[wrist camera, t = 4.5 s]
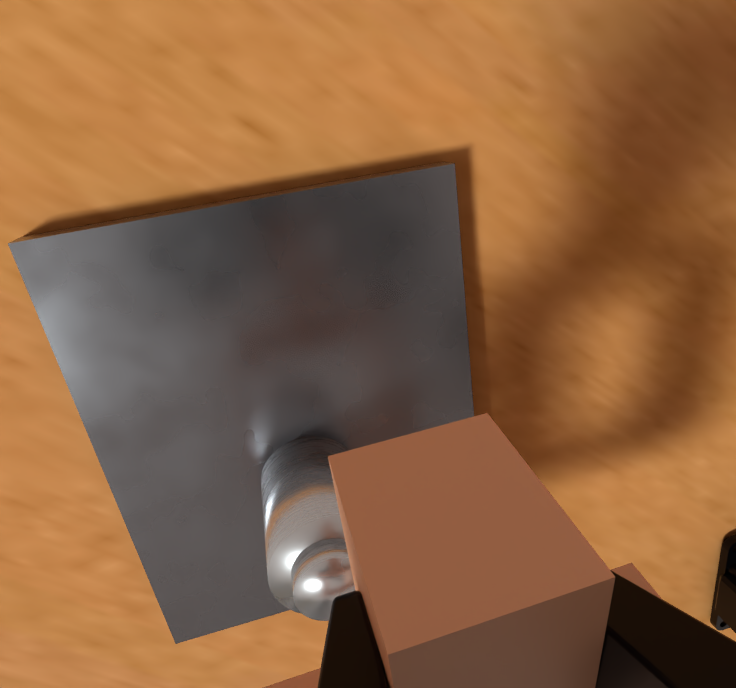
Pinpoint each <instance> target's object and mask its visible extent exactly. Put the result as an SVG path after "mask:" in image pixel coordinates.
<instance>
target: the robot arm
mask: <svg viewBox="0 0 736 688" xmlns="http://www.w3.org/2000/svg"><path fill="white" fill-rule="evenodd" d="M610 571H611V572H612V573H613V575H614V576H615V582H614V587H613V593H612V598H611V604H610V609H609V615H608V620H607V626H606V631H605V637H604V642H603V648H602V653H601V659H600V664H599V670H598V675H597V681H596V686H595V688H736V642H735V641H734V640H732V639H730V638H728V637H727V636H725V635H723V634H721V633H720V632H718V631H716V630H714V629H713V628H711V627H709V626H708V625H706V624H704V623H702V622H701V621H699V620H697V619H695V618H694V617H692V616H690V615H688V614H687V613H685V612H683V611H681V610H680V609H678V608H676V607H674V606H673V605H671V604H669V603H667V602H666V601H664V600H662V599H660V598H659V597H657V596H655V595H653V594H652V593H650V592H648V591H646V590H645V589H643V588H641V587H639V586H638V585H636V584H634V583H633V582H631V581H629V580H627V579H626V578H624V577H622V576H620V575H619V574H617V573H615V572H613V571H612V570H610ZM710 622H711V624H712V625H713V626H714V627H715V628H716V629H717V630H724V629H727V628H731V629H732V630H733V631H734V632H735V633H736V535H733V536H730V537H728V538H727V539H726V540H725V541H724V542H723V544H722V549H721V555H720V562H719V568H718V574H717V581H716V587H715V594H714V600H713V606H712V613H711V619H710ZM317 688H388V683H387V678H386V673H385V669H384V665H383V661H382V658H381V655H380V652H379V648H378V645H377V642H376V639H375V636H374V632H373V629H372V626H371V623H370V620H369V616H368V613H367V610H366V607H365V603H364V600H363V597H362V594H361V592H360V591H352V592H349V593H346V594H343V595H340V596H337V597H335V598H334V600H333V602H332V606H331V612H330V618H329V624H328V629H327V635H326V641H325V646H324V652H323V658H322V664H321V669H320V675H319V681H318V686H317Z"/></svg>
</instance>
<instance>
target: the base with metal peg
mask: <svg viewBox="0 0 736 688" xmlns="http://www.w3.org/2000/svg"><path fill="white" fill-rule="evenodd" d="M8 245H9V247H10V250H11V252H12V254H13V257H14V259H15V262H16V264H17V266H18V269H19V271H20V274H21V276H22V278H23V281H24V283H25V285H26V288H27V290H28V293H29V295H30V297H31V300H32V302H33V305H34V307H35V309H36V312H37V314H38V316H39V319H40V321H41V324H42V326H43V328H44V331H45V333H46V336H47V338H48V340H49V343H50V345H51V347H52V350H53V352H54V355H55V357H56V359H57V362H58V364H59V367H60V369H61V371H62V374H63V376H64V378H65V381H66V383H67V386H68V388H69V390H70V393H71V395H72V398H73V400H74V402H75V405H76V407H77V409H78V412H79V414H80V417H81V419H82V421H83V424H84V426H85V429H86V431H87V433H88V436H89V438H90V440H91V443H92V445H93V448H94V450H95V452H96V455H97V457H98V460H99V462H100V464H101V467H102V469H103V471H104V474H105V476H106V479H107V481H108V483H109V486H110V488H111V491H112V493H113V495H114V498H115V500H116V502H117V505H118V507H119V510H120V512H121V514H122V517H123V519H124V522H125V524H126V526H127V529H128V531H129V533H130V536H131V538H132V541H133V543H134V545H135V548H136V550H137V553H138V555H139V557H140V560H141V562H142V564H143V567H144V569H145V572H146V574H147V576H148V579H149V581H150V584H151V586H152V588H153V591H154V593H155V595H156V598H157V600H158V603H159V605H160V607H161V610H162V612H163V615H164V617H165V619H166V622H167V624H168V626H169V629H170V631H171V634H172V636H173V638H174V641H175V643H176V644H177V643H180V642H183V641H187V640H190V639H193V638H197V637H200V636H203V635H207V634H210V633H214V632H217V631H220V630H224V629H227V628H230V627H234V626H237V625H240V624H244V623H247V622H250V621H254V620H257V619H260V618H264V617H267V616H271V615H274V614H277V613H281V612H284V611H287V610H293V611H295V612H298V613H302V614H303V615H305V616H307V617H309V618H311V619H315V620H321V621H328V620H329V618H330V612H331V606H332V602H333V600H334V598H335V597H337V596H340V595H343V594H346V593H349V592H352V591H356V590H355V586H354V581H353V576H352V571H351V566H350V561H349V557H348V552H347V547H346V542H345V537H344V532H343V528H342V523H341V518H340V513H339V508H338V503H337V499H336V494H335V489H334V484H333V479H332V474H331V470H330V465H329V460H328V456H330V455H334V454H338V453H341V452H345V451H349V450H352V449H356V448H360V447H363V446H367V445H371V444H375V443H378V442H382V441H386V440H389V439H393V438H397V437H400V436H404V435H408V434H411V433H415V432H419V431H422V430H426V429H430V428H433V427H437V426H441V425H444V424H448V423H452V422H455V421H459V420H463V419H466V418H470V417H474V408H473V395H472V382H471V369H470V356H469V343H468V330H467V317H466V304H465V291H464V278H463V265H462V252H461V239H460V226H459V213H458V200H457V187H456V174H455V163H449V162H439V163H433V164H428V165H422V166H417V167H411V168H405V169H400V170H394V171H389V172H383V173H377V174H372V175H366V176H360V177H355V178H349V179H344V180H338V181H332V182H327V183H321V184H316V185H310V186H304V187H299V188H293V189H288V190H282V191H276V192H271V193H265V194H260V195H254V196H248V197H243V198H237V199H231V200H226V201H220V202H215V203H209V204H203V205H198V206H192V207H187V208H181V209H175V210H170V211H164V212H159V213H153V214H147V215H142V216H136V217H131V218H125V219H119V220H114V221H108V222H102V223H97V224H91V225H86V226H80V227H74V228H69V229H63V230H58V231H52V232H46V233H41V234H35V235H30V236H24V237H20V238H18V239H16V240H14V241H12V242H10V243H8Z"/></svg>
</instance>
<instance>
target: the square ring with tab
mask: <svg viewBox="0 0 736 688" xmlns="http://www.w3.org/2000/svg"><path fill="white" fill-rule="evenodd" d="M328 460H329V465H330V470H331V474H332V479H333V484H334V489H335V494H336V499H337V503H338V508H339V513H340V518H341V523H342V528H343V532H344V537H345V542H346V547H347V552H348V557H349V561H350V566H351V571H352V576H353V581H354V586H355V590H356V591H360V592H361V594H362V597H363V600H364V603H365V607H366V610H367V613H368V616H369V620H370V623H371V626H372V629H373V632H374V636H375V639H376V642H377V645H378V648H379V652H380V655H381V658H382V661H383V665H384V669H385V673H386V678H387V683H388V688H595V686H596V681H597V675H598V670H599V664H600V659H601V653H602V648H603V642H604V637H605V631H606V626H607V620H608V615H609V609H610V604H611V598H612V593H613V587H614V582H615V576H614V575H613V573H612V572H611V571H610V569H609V568H608V567H607V566H606V564H605V563H604V562H603V560H602V559H601V558H600V557H599V555H598V554H597V553H596V551H595V550H594V549H593V548H592V546H591V545H590V544H589V543H588V541H587V540H586V539H585V537H584V536H583V535H582V534H581V532H580V531H579V530H578V528H577V527H576V526H575V525H574V523H573V522H572V521H571V519H570V518H569V517H568V516H567V514H566V513H565V512H564V510H563V509H562V508H561V507H560V505H559V504H558V503H557V501H556V500H555V499H554V498H553V496H552V495H551V494H550V492H549V491H548V490H547V489H546V487H545V486H544V485H543V484H542V482H541V481H540V480H539V478H538V477H537V476H536V475H535V473H534V472H533V471H532V469H531V468H530V467H529V466H528V464H527V463H526V462H525V460H524V459H523V458H522V457H521V455H520V454H519V453H518V451H517V450H516V449H515V448H514V446H513V445H512V444H511V442H510V441H509V440H508V439H507V437H506V436H505V435H504V433H503V432H502V431H501V430H500V428H499V427H498V426H497V425H496V423H495V422H494V421H493V419H492V418H491V417H490V416H489V414H488V413H485V414H481V415H477V416H474V417H470V418H466V419H463V420H459V421H455V422H452V423H448V424H444V425H441V426H437V427H433V428H430V429H426V430H422V431H419V432H415V433H411V434H408V435H404V436H400V437H397V438H393V439H389V440H386V441H382V442H378V443H375V444H371V445H367V446H363V447H360V448H356V449H352V450H349V451H345V452H341V453H338V454H334V455H330V456H328ZM612 571H613V572H615V573H617V574H619V575H620V576H622V577H624V578H626V579H627V580H629V581H631V582H633V583H634V584H636V585H638V586H639V587H641V588H643V589H645V590H646V591H648V592H650V593H652V594H653V595H655V596H657V597H659V598H660V599H661V597H660V596H659V595H658V594H657V593H656V591H655V590H654V589H653V588H652V587H651V585H650V584H649V583H648V582H647V581H646V579H645V578H644V577H643V576H642V575H641V573H640V572H639V571H638V570H637V569H636V567H635V566H634V565H633V564H632V563H630V564H627V565H624V566H621V567H618V568H615V569H612ZM320 669H321V668H320ZM320 669H317V670H314V671H311V672H308V673H305V674H302V675H299V676H296V677H293V678H290V679H287V680H284V681H281V682H278V683H275V684H273V685H270V686H267V687H264V688H317V686H318V681H319V675H320Z"/></svg>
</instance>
